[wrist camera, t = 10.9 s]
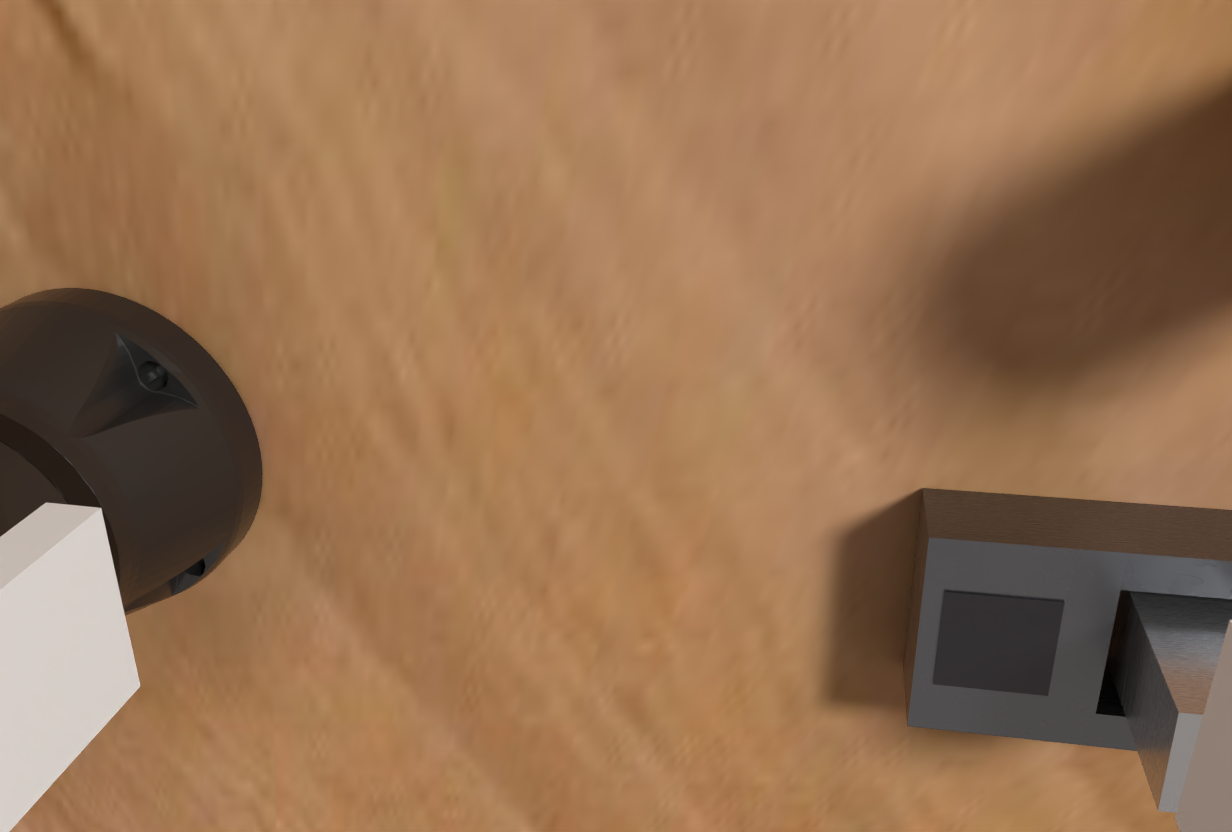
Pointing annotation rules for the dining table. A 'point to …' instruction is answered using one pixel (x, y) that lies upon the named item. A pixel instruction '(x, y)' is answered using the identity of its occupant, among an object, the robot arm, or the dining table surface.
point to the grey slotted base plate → (1041, 607)
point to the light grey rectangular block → (1166, 678)
